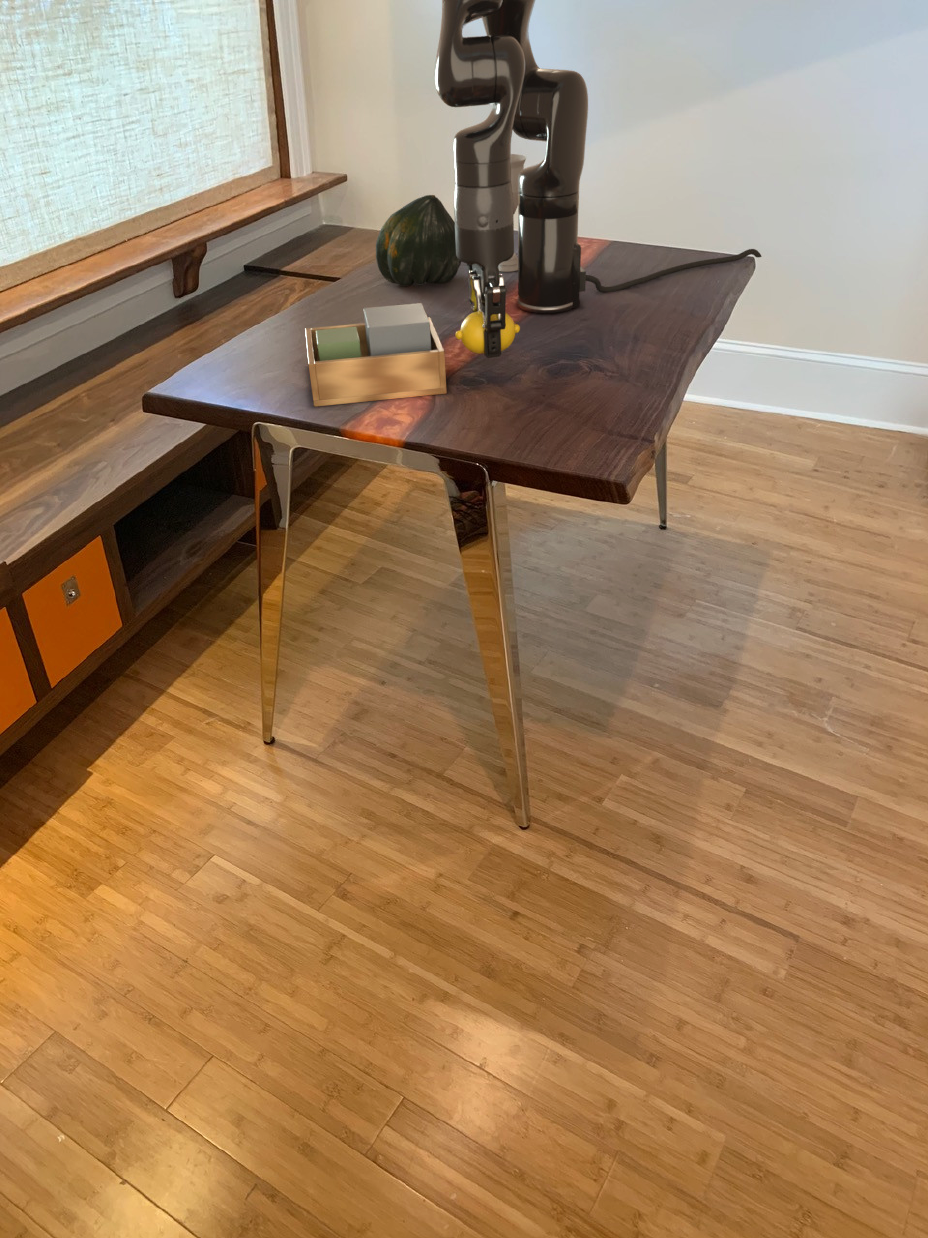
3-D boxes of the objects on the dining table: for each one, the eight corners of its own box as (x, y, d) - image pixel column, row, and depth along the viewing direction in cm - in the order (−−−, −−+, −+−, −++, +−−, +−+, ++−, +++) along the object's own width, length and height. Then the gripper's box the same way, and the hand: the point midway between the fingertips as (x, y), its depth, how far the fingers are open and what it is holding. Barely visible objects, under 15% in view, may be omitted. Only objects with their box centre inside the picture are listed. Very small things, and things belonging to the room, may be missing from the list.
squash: (352, 246, 166) (380, 185, 153) (422, 233, 173) (455, 174, 160) (389, 315, 164) (420, 260, 151) (458, 299, 172) (493, 245, 159)
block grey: (425, 359, 134) (421, 302, 130) (433, 380, 128) (429, 321, 123) (368, 364, 133) (363, 307, 129) (374, 386, 127) (368, 327, 122)
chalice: (526, 272, 168) (527, 161, 157) (488, 273, 168) (486, 163, 158) (525, 260, 174) (525, 153, 163) (488, 261, 174) (486, 154, 163)
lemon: (515, 340, 134) (515, 301, 130) (524, 355, 129) (524, 314, 126) (452, 347, 133) (450, 308, 129) (460, 362, 128) (458, 321, 125)
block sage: (360, 368, 132) (356, 326, 129) (363, 383, 128) (359, 340, 124) (321, 372, 132) (315, 330, 128) (323, 387, 127) (317, 344, 124)
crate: (432, 356, 137) (430, 316, 134) (446, 393, 126) (444, 351, 123) (310, 368, 135) (305, 328, 132) (314, 406, 124) (308, 364, 121)
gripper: (526, 231, 115) (526, 364, 125) (500, 203, 127) (503, 327, 137) (465, 237, 114) (471, 371, 125) (445, 208, 126) (452, 333, 136)
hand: (487, 347), depth 131 cm, fingers closed on lemon, 5 cm apart
